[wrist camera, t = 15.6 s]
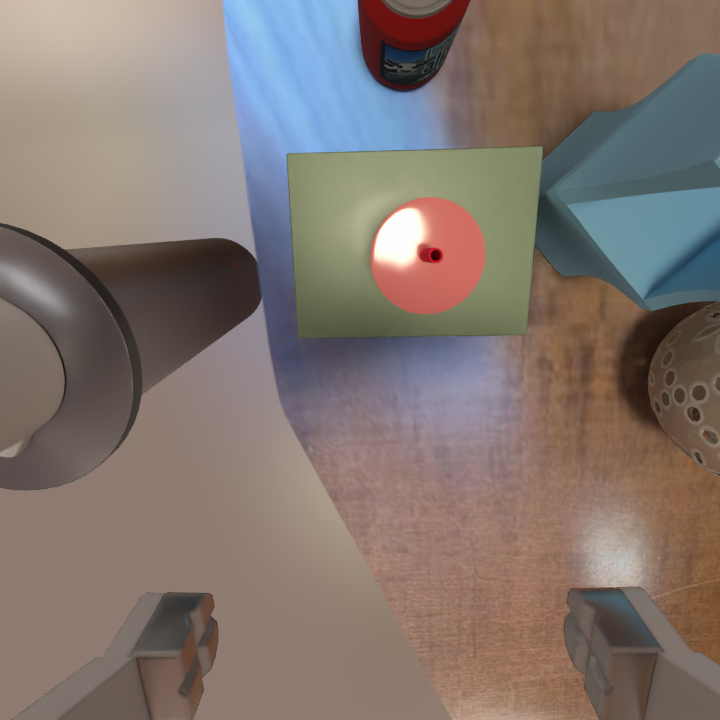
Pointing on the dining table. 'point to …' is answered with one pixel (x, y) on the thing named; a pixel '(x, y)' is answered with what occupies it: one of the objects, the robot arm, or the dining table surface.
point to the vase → (641, 194)
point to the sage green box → (370, 208)
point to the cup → (428, 255)
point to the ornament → (690, 386)
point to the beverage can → (408, 38)
